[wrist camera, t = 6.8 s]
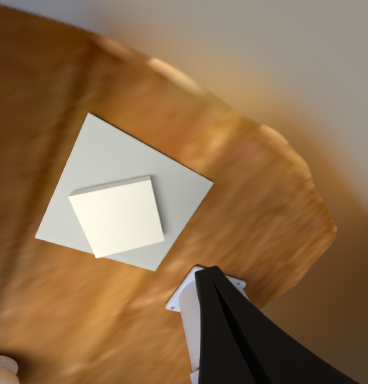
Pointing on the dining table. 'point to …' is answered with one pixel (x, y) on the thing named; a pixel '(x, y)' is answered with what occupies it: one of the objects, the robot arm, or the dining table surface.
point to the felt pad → (115, 172)
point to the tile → (118, 215)
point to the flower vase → (8, 370)
